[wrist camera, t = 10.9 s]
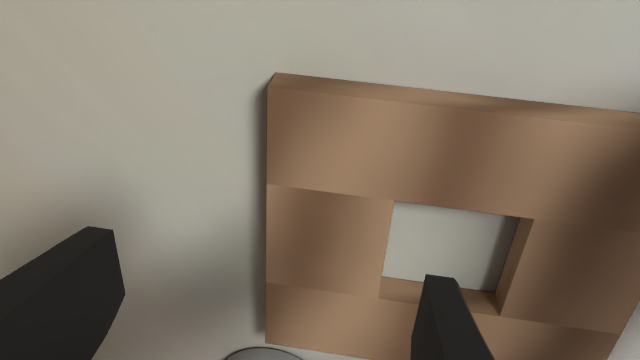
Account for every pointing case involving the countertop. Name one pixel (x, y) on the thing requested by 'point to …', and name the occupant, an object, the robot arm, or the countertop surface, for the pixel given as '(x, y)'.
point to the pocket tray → (452, 192)
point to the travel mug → (262, 355)
